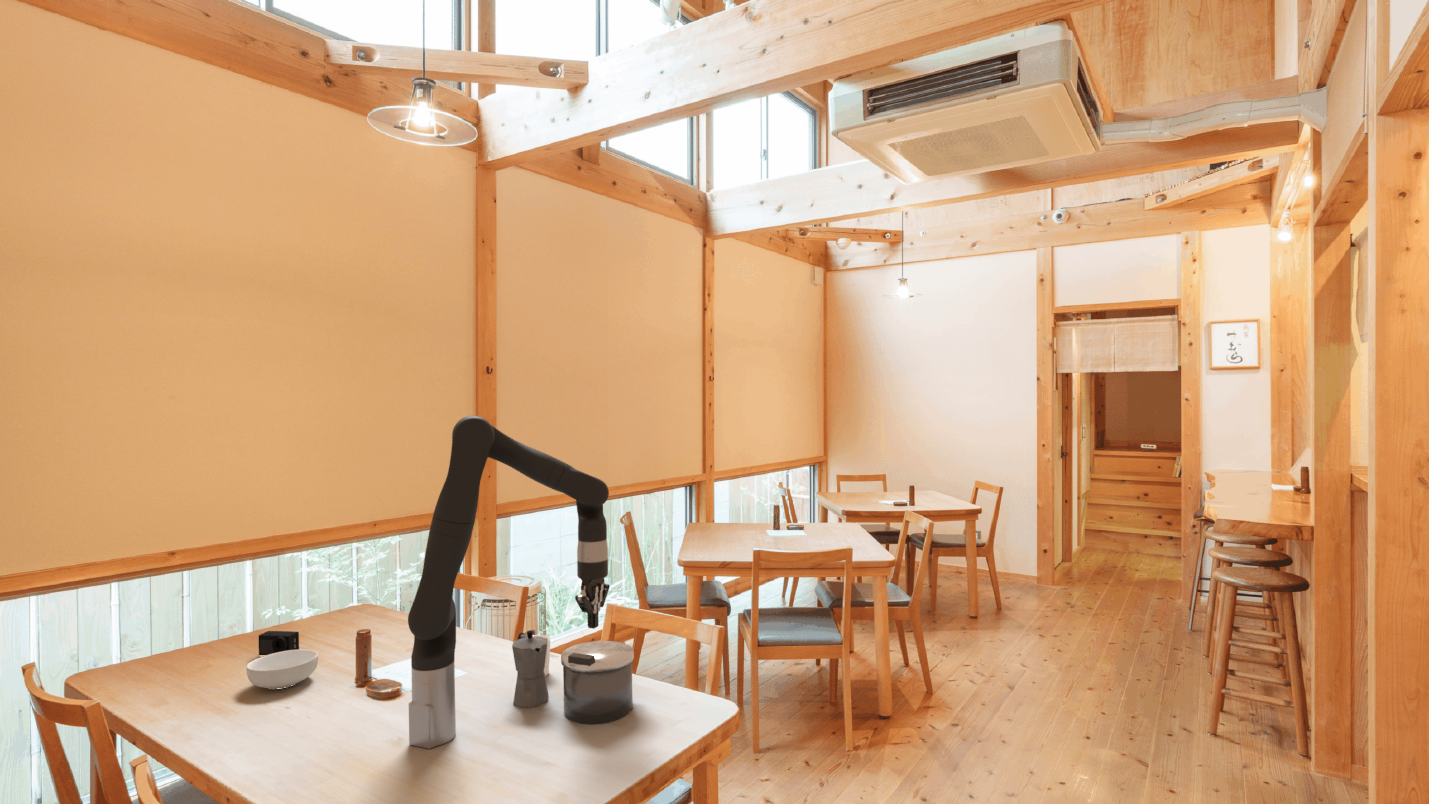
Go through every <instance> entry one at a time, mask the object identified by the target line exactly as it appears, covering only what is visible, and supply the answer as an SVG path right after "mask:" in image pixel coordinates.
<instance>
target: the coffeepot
mask: <svg viewBox="0 0 1429 804" xmlns="http://www.w3.org/2000/svg"><path fill="white" fill-rule="evenodd" d="M532 635H534V630H528V631H526V633H524V632H520V633H519V634H518V636H517V640H513V642H512V646H511V649H512V653H513V659H514V665H515V666H514V667H515V670H516V672H517V676H516V683H515V688H514V689H515V690H514V696H513V705H515V706H516V707H519V708H524V709H525V708H526V709H527V708H535V707H539V706H542V705H543V704H545V703H546V702H548V701H549V690H548V686H547V685H548V684H547V680H546V676H545V673H544V667H545V659H546V651H547V642H548V639H547V638H543V637H539V636H536V637H532ZM541 704H542V705H541Z"/></svg>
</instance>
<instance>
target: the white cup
mask: <svg viewBox="0 0 1429 804" xmlns="http://www.w3.org/2000/svg"><path fill="white" fill-rule="evenodd" d="M536 636H539V637H543V638H547V639H548V642H547V651H546V659H545V667H544V673H545V677H547V676H548V675H549V674H550V673H549V672H550V655H551V637H550V636H549V635H546V634H533V635H532V637H536Z"/></svg>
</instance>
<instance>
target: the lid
mask: <svg viewBox="0 0 1429 804" xmlns="http://www.w3.org/2000/svg"><path fill="white" fill-rule="evenodd" d="M634 651H635V650H634V648H633V647H632V646H631V645H630V644H627V643H626V642H624V641H615V640H595V641H588V642H582V643H581V642H580V643H577V644H574V645H571V646H569V647H567V648H565V649H564V650H563V651H562V652H561V655H560V656H561V657H560V659H561V660H560V663H561V665H562V667H563V666H564V667H565V668H567V669H570V670H574V671H579V672H603V671H610V670H614V669H618V668H621V667H624V666H626V665H628V664H629V663H631V662H632V663H633V661H634V660H635V655H634V654H635V652H634Z"/></svg>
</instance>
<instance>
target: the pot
mask: <svg viewBox="0 0 1429 804" xmlns="http://www.w3.org/2000/svg"><path fill="white" fill-rule="evenodd" d="M562 667H563V670H562V671H563V675H562V676H563V714H565V715H564V716H565V718H566V719H568V720H569V721H571V722H573V723H576V724H577V723H578V724H581V725H601V724H602V725H603V724H608V723H611V722H616V721H617V720H618V721H619V720H620V719H623V718H624V717H626V716H628V714H630V713H631V712H632V710H633V704H634V703H633V702H634V701H633V661H632V662H631V663H629V664H628V665H626V666H624V667H621V668H618V669H614V670H610V671H603V672H579V671H574V670H570V669H567V668H565V667H564V666H563V665H562Z"/></svg>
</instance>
